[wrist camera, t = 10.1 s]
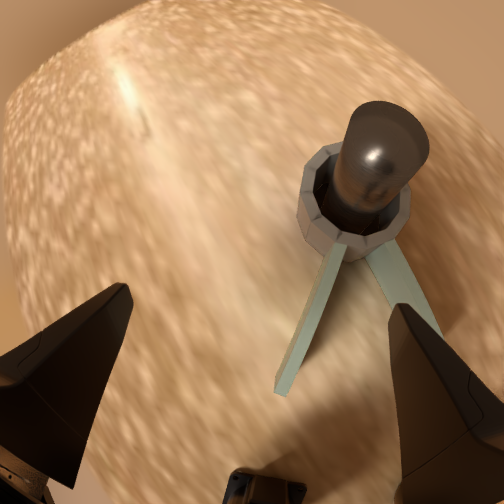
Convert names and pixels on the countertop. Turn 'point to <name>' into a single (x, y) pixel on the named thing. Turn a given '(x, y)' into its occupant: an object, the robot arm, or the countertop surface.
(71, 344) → the robot arm
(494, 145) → the countertop surface
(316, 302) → the grey forked piece
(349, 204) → the hinge pin
